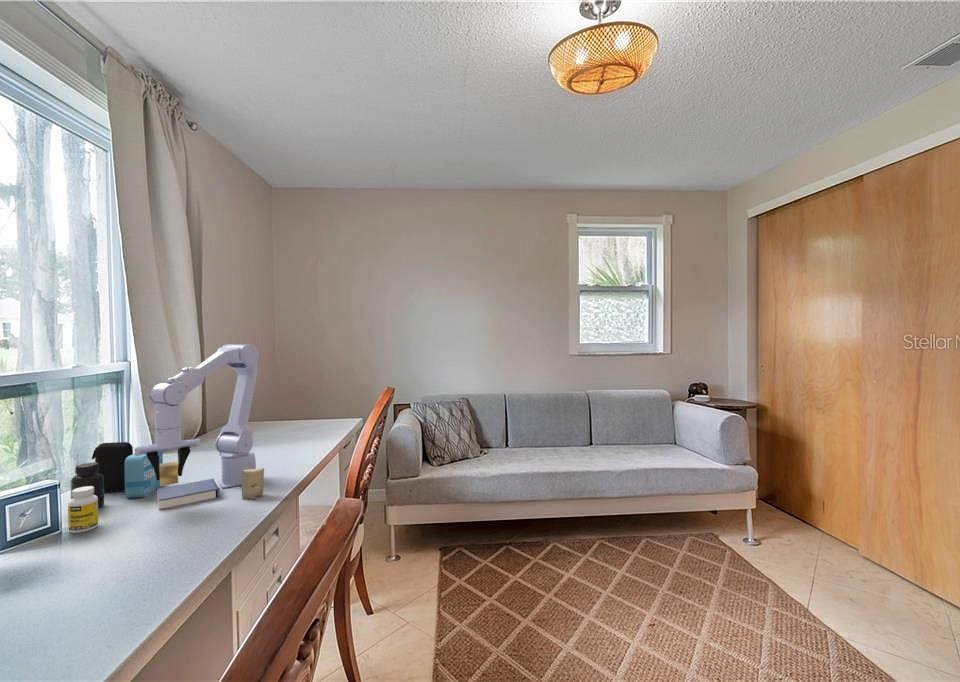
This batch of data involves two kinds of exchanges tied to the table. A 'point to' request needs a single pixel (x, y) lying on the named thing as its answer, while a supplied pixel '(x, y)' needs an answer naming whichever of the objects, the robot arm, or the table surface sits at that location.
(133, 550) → the table surface
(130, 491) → the data package
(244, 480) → the tan upright rounded block
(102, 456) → the carrying case or bag
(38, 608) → the table surface
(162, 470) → the mustard block
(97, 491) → the supplement bottle
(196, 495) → the slate blue book
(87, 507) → the supplement bottle
